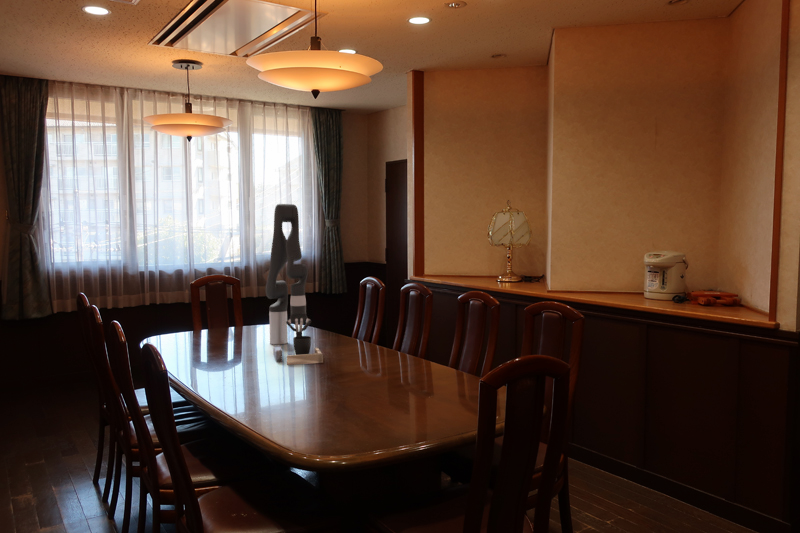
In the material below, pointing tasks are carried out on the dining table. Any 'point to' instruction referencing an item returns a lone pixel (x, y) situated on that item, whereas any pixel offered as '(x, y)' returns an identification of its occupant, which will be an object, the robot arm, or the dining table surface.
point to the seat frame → (305, 358)
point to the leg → (276, 349)
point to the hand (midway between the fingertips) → (299, 339)
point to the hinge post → (279, 355)
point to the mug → (302, 344)
